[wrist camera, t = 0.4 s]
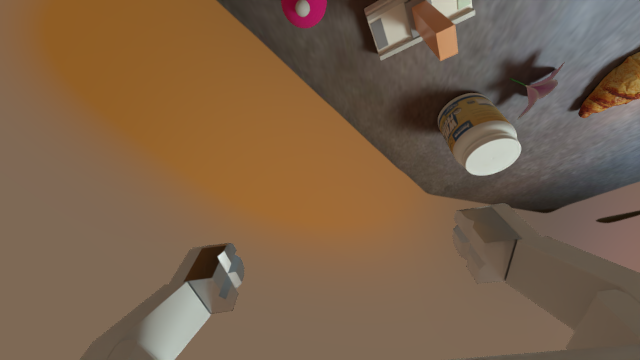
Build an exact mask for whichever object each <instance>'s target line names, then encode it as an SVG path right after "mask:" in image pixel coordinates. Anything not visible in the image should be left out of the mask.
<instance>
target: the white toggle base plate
mask: <svg viewBox="0 0 640 360" xmlns="http://www.w3.org/2000/svg"><path fill="white" fill-rule="evenodd" d="M406 1H408V0H378V1H377V2H375V3H373V4H371V5H370V6H368V7H366V8H364V12H365V15H366V18H367V21H368V24H369V27H370V30H371V33H372V36H373V39H374V42H375V45H376V48H377V51H378V54H379V57H380V59H381V60H383V59H385V58H387V57H389V56H391V55H393V54H395V53H398V52H400V51H402V50H404V49H406V48H408V47H410V46H412V45H414V44H416V43H418V42H420V41H422V40H423V38H422V37H421V36H420V35H419V36H417V37H415V38H413V37H412V35H411V31H410V26H409V22H408V18H407V13H406V9H405V4H404V2H406ZM431 2H432V6H434V7H435V8H436V9H437V10H438V11H440V12H441V13H442V14H443V15H444V16H445V17H447V18H448V19H449V20H450V21H451V22H453V23H454V24H457V23H459V22H461V21H463V20H465V19H467V18H470V17H472V16H474V15H475V10H474V9H473V8H472V0H431Z"/></svg>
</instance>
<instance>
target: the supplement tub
mask: <svg viewBox="0 0 640 360" xmlns="http://www.w3.org/2000/svg"><path fill="white" fill-rule="evenodd" d="M438 127H439V130H440V131H441V133H442V135H443V137H444V139H445V140H446V142H447V144H448V146H449V148H450V150H451V152H452V154H453V155H454V158H455V159H456V160H457V162H459V163H460V164H461V165H463V166H464V167H465V168H466V169H467V171H468V172H470V173H471V174H474V175H489V174H493V173H496V172H499V171H501V170H503V169H505V168H507V167H508V166H510V165H511V164H512V163H513V162H514V161H515V160H516V159H517V158H518V157H519V155H520V153H521V145H520V143H519V142H518V140H517V134H516V131H515V129H514V127H513V126H512V125H511V124H510V123H509V122H508V121H507V120H506V118H505V117H504V116H503V115H502V114H501V113H500V112H499V110H498V109H497V108H496V107H495V106H494V105H493V104H492V103H491V101H490V100H489V99H488V98H487V97H486V96H484V95H481V94H478V93H468V94H464V95H461V96H458V97H456V98H454V99H453V100H451V101H450V102H449V103H447V104H446V105H445V106H444V108H443V109H442V110H441V112H440V114H439V116H438Z"/></svg>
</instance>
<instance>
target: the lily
mask: <svg viewBox="0 0 640 360" xmlns="http://www.w3.org/2000/svg"><path fill="white" fill-rule="evenodd" d="M564 63H565V62H564ZM564 63H563V64H564ZM563 64H562V65H561V66H560V67H559V68H558V69H555V70H554V71H553V72H552V74H551V75H550V76H549V77H548V78H546V79H545V80H543V81H540V82H538V83H535V84H532V85H529V86H528V85H526V84H523V83H521V82H519V81H517V80H514V79H512V78H510V80H513V81H515V82H517V83H519V84H522V85H524V86H526V87H527V93H528V106H527V108H526V109H525V110H524V112H523V113H522V114H521V115H520V117H519V118H521V117H522V116H523V115H524V114H525V113H527V112H528V111H529V110H530V108H531V107H532V106H533V105H534V103H535V102H536V100H537V99H540V98H543V97H545V96H546V95H548V94H549V93H550V92H551V91H552V90H553V89H554V88H555V87H556V86H557V84H558V82H557V81H556V80H552V79H553V78H554V76H555V75H556V74H557V73H558V71H559V70H560V69H561V67H562V66H563ZM519 118H518V119H519Z"/></svg>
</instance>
